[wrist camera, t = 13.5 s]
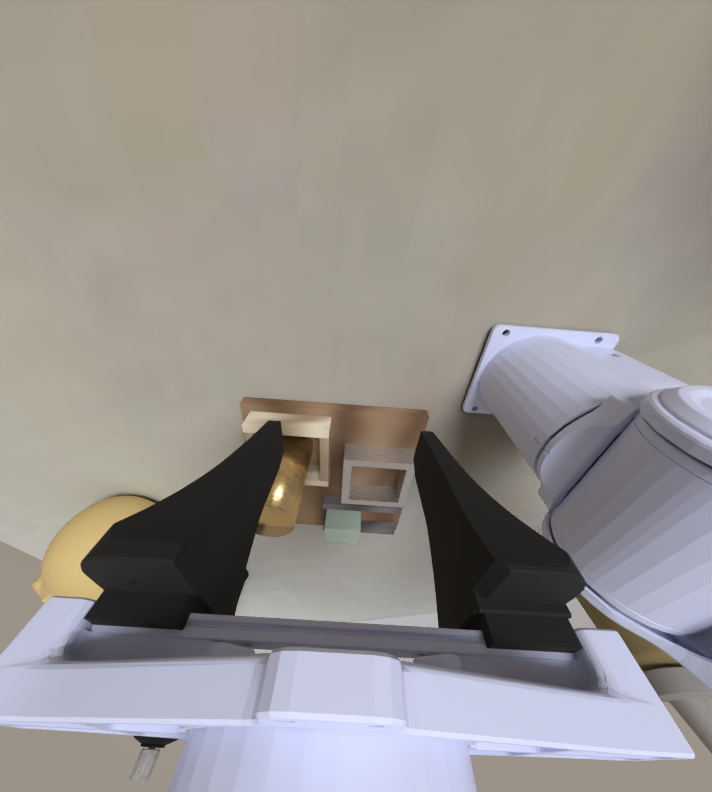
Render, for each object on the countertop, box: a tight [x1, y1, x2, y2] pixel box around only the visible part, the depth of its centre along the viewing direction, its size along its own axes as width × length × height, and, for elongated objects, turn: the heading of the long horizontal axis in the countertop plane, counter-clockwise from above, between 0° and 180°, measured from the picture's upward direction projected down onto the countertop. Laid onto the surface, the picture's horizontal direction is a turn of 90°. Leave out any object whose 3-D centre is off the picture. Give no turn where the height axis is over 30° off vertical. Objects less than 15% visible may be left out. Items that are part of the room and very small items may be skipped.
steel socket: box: [341, 444, 415, 508], centre depth 26 cm, size 7×7×2 cm
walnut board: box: [240, 397, 429, 534], centre depth 28 cm, size 17×19×2 cm
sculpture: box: [31, 496, 156, 603], centre depth 30 cm, size 12×12×11 cm
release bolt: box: [324, 509, 361, 544], centre depth 30 cm, size 4×3×3 cm
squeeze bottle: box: [576, 594, 712, 753], centre depth 27 cm, size 8×8×18 cm
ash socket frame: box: [241, 411, 332, 487], centre depth 24 cm, size 7×7×2 cm
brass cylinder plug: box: [256, 435, 314, 537], centre depth 22 cm, size 4×4×8 cm
